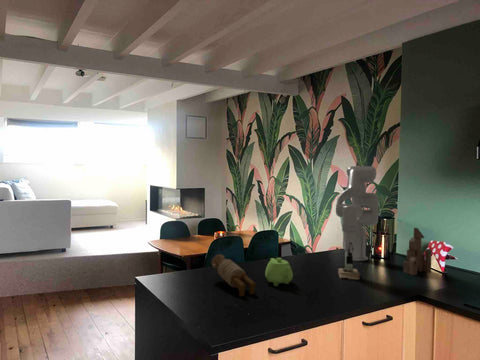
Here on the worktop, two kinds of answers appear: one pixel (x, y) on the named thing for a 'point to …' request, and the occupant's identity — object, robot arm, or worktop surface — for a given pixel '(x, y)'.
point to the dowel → (348, 266)
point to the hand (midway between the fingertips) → (348, 262)
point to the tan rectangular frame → (348, 273)
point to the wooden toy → (417, 256)
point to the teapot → (278, 271)
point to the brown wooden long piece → (232, 274)
